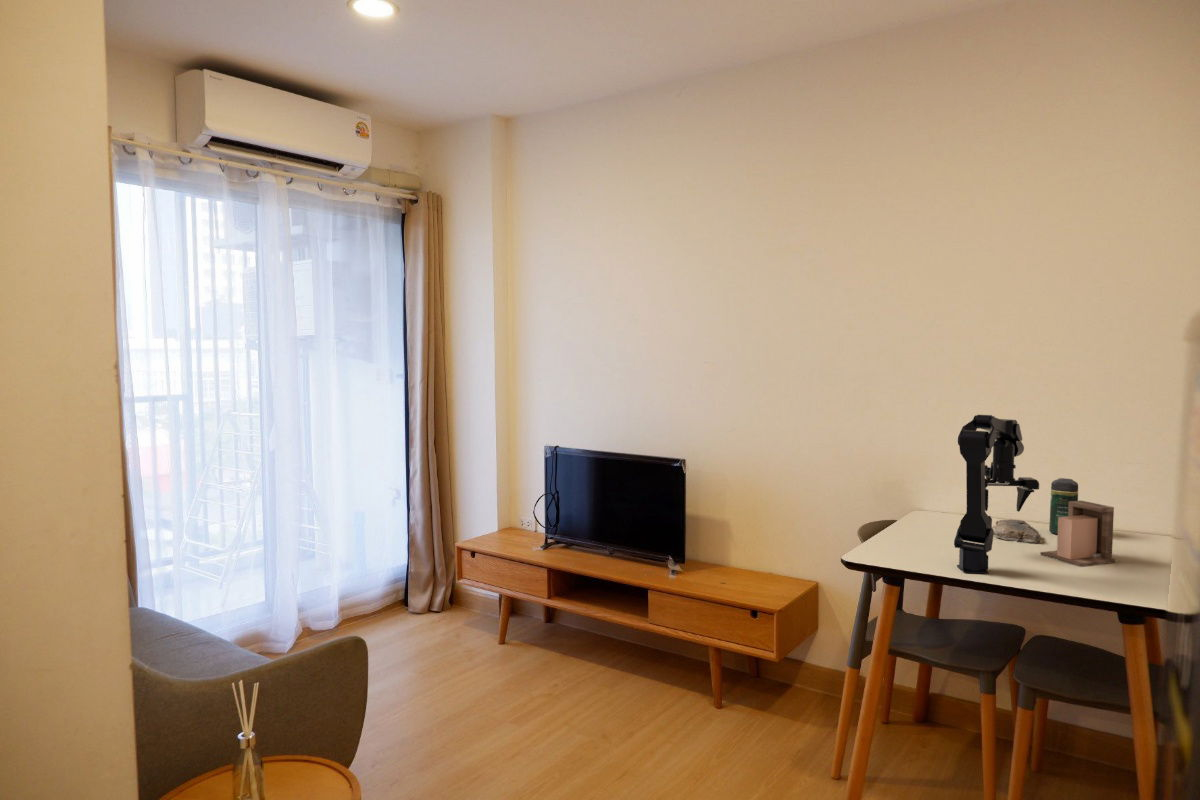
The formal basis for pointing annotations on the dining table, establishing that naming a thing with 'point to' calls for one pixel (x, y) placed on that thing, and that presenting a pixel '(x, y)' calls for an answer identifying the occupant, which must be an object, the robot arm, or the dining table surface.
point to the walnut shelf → (1103, 533)
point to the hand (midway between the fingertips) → (1002, 510)
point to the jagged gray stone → (1016, 531)
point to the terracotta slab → (1077, 536)
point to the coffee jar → (1061, 500)
